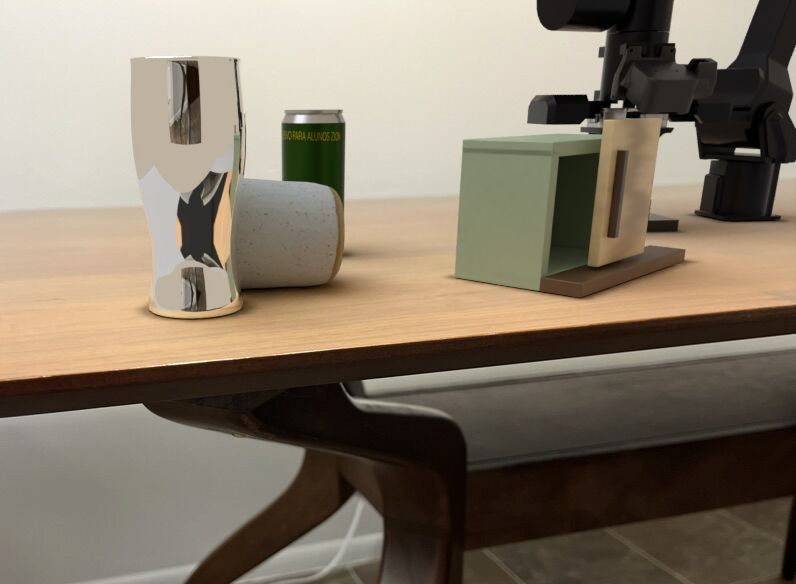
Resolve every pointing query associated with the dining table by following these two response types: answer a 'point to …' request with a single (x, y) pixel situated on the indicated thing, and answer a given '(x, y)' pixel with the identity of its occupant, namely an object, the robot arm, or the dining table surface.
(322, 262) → the ceramic mug
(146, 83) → the beer glass
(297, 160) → the beer can
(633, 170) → the door
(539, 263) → the cabinet
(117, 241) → the dining table surface
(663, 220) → the block
